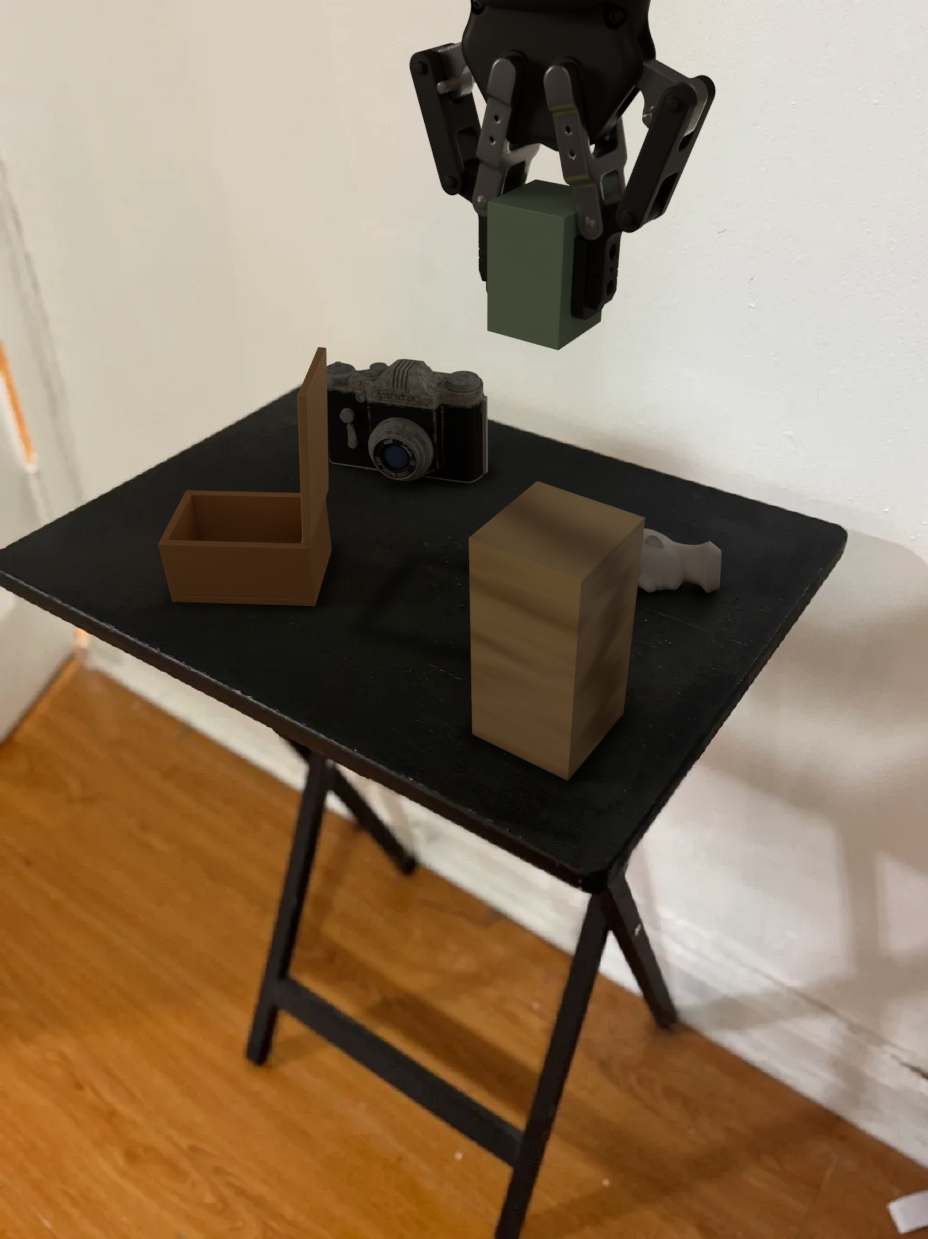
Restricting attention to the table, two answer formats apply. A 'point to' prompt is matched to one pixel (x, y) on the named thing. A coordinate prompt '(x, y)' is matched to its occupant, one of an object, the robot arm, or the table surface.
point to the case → (244, 549)
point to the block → (533, 265)
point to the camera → (408, 421)
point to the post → (552, 624)
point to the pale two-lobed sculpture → (677, 564)
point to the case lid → (313, 443)
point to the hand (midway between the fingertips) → (545, 301)
